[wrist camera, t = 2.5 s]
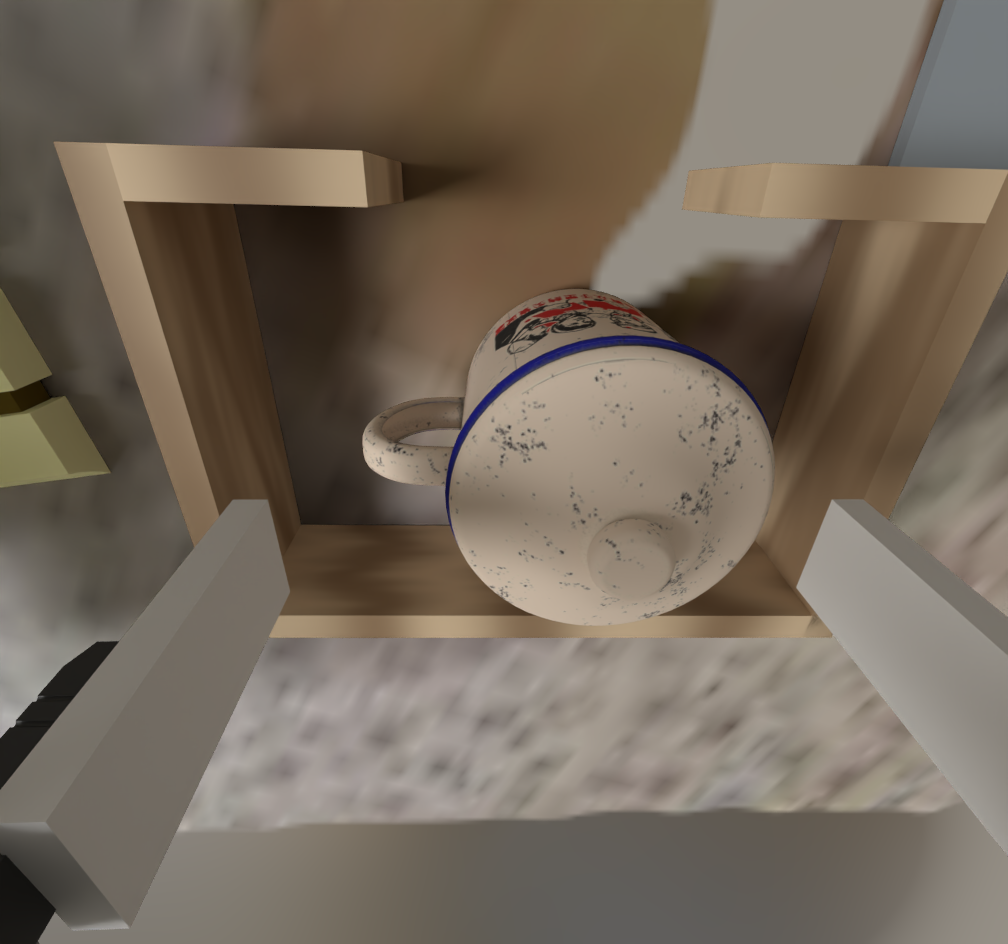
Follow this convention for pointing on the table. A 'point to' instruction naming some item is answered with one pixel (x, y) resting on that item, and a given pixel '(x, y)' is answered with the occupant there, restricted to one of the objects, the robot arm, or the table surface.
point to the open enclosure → (433, 549)
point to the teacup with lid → (590, 462)
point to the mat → (960, 92)
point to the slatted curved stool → (36, 416)
